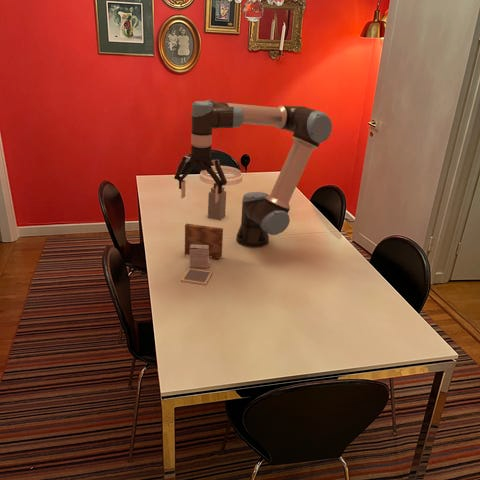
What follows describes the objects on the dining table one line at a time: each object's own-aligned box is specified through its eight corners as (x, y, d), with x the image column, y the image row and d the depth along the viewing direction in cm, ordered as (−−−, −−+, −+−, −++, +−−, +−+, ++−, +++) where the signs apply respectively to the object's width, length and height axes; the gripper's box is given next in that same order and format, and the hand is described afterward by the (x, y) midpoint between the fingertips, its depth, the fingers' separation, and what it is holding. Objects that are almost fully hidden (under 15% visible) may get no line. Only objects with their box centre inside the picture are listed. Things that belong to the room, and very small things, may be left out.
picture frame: (212, 273, 188) (212, 271, 188) (205, 285, 179) (206, 283, 179) (188, 269, 190) (188, 268, 189) (180, 281, 181) (180, 279, 180)
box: (208, 263, 196) (209, 244, 192) (208, 268, 192) (209, 249, 188) (189, 262, 195) (190, 243, 192) (189, 267, 191) (189, 248, 188)
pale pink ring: (195, 183, 292) (195, 174, 290) (205, 171, 316) (205, 163, 314) (237, 187, 288) (238, 179, 286) (244, 175, 313) (245, 167, 310)
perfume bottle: (207, 217, 241) (208, 184, 234) (213, 213, 247) (214, 180, 239) (219, 220, 239) (221, 186, 231) (225, 215, 245) (226, 182, 237)
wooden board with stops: (222, 254, 204) (223, 227, 198) (219, 259, 199) (221, 231, 194) (187, 249, 206) (187, 222, 201) (183, 254, 202) (183, 226, 196)
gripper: (236, 146, 174) (233, 200, 183) (172, 139, 178) (172, 192, 187) (232, 151, 168) (229, 206, 176) (165, 143, 172) (166, 198, 180)
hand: (200, 199), depth 182 cm, fingers open, 13 cm apart
